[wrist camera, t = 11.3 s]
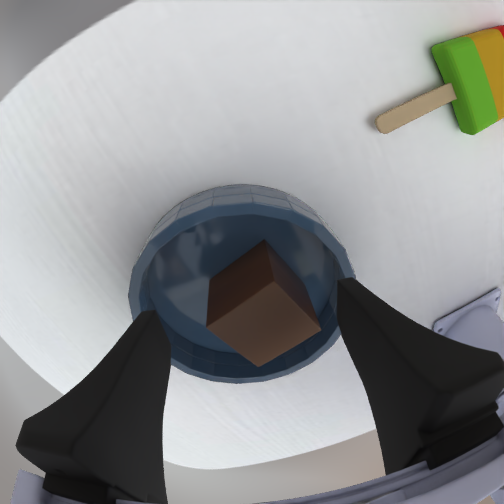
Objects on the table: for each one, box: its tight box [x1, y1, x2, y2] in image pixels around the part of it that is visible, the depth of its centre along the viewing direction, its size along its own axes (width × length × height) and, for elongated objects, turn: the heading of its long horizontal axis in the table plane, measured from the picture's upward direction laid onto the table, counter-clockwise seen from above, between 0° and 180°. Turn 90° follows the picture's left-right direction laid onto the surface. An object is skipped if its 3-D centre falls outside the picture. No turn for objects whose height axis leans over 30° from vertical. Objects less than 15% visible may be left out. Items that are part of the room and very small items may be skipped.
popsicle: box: [375, 25, 504, 135], centre depth 12 cm, size 6×15×2 cm, turn 121°
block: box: [206, 239, 321, 367], centre depth 16 cm, size 4×4×4 cm
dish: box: [128, 185, 356, 384], centre depth 17 cm, size 12×12×3 cm
